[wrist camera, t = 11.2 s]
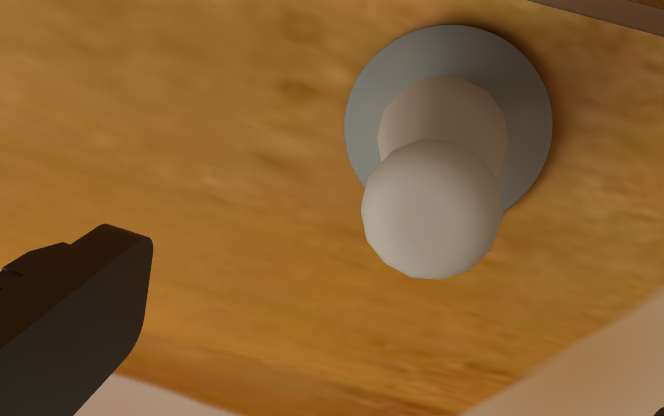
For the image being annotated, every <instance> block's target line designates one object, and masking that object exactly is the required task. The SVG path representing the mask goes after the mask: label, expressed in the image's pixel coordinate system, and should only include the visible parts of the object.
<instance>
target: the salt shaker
mask: <svg viewBox="0 0 664 416" xmlns="http://www.w3.org/2000/svg"><path fill="white" fill-rule="evenodd" d="M377 140H378V146H379V151H380V157H381V163H380V165H379V166H378V167H377V168H376V169H375V170H374V171H373V172H372V173H371V175H370V176H369V177H368V180H367V184H366V188H365V192H364V196H363V200H362V204H361V214H362V219H363V223H364V228H365V233H366V238H367V241H368V242H369V244H370V245H371V246H372V247H373V249H374V250H375V251H376V252H377V254H378V255H379V256H380V257H381V259H382V260H383V261H384V262H385V263H386V264H388V265H389V266H391V267H393V268H395V269H397V270H399V271H400V272H402V273H404V274H406V275H408V276H409V277H414V278H426V279H439V280H441V279H444V278H448V277H451V276H454V275H457V274H460V273H463V272H467V271H469V270H470V269H471V268H473V267H474V266H475V265H476V264H477V263H478V262H479V261H480V260H481V259H482V258H483V257H484V256H485V255H486V254H487V253H488V252H489V251H490V250H491V247H492V245H493V242H494V240H495V237H496V234H497V231H498V229H499V226H500V223H501V221H502V218H503V210H502V204H501V197H500V191H499V185H498V182H497V179H496V176H497V174H498V173H499V171H500V168H501V165H502V162H503V159H504V156H505V154H506V151H507V148H508V145H509V143H508V136H507V129H506V122H505V115H504V114H503V113H502V111H501V110H500V108H499V107H498V105H497V104H496V103H495V101H494V100H493V98H492V97H491V96H490V94H489V93H488V91H486V90H484V89H482V88H480V87H478V86H476V85H474V84H472V83H471V82H469V81H467V80H465V79H463V78H461V77H436V76H430V77H427V78H425V79H423V80H421V81H419V82H417V83H414V84H412V85H410V86H408V87H406V88H404V89H402V91H401V92H400V93H399V94H398V95H397V96H396V97H395V98H394V100H393V101H392V102H391V103H390V104H389V105H388V106H387V107H386V109H385V110H384V111H383V115H382V120H381V124H380V128H379V132H378V137H377Z"/></svg>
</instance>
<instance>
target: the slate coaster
mask: <svg viewBox="0 0 664 416" xmlns="http://www.w3.org/2000/svg"><path fill="white" fill-rule="evenodd" d="M430 76H436V77H461V78H463V79H465V80H467V81H469V82H471V83H472V84H474V85H476V86H478V87H480V88H482V89H484V90H486V91H488V93H489V94H490V96H491V97H492V98H493V100H494V101H495V103H496V104H497V105H498V107H499V108H500V110H501V111H502V113H503V114H504V115H505V122H506V129H507V136H508V143H509V145H508V148H507V151H506V154H505V156H504V159H503V162H502V165H501V168H500V171H499V173H498V174H497V176H496V179H497V182H498V185H499V191H500V197H501V204H502V210H503V211H504V210H506V209H507V208H509V207H510V206H512V205H513V204H514V203H515V202H516V201H518V200H519V199H520V198H521V197H522V196H523V195H524V194H525V193H526V192H527V191H528V189H529V188H530V187H531V186H532V185H533V183H534V182H535V180H536V179H537V177H538V176H539V174H540V172H541V170H542V168H543V166H544V164H545V162H546V159H547V156H548V153H549V150H550V145H551V140H552V130H553V118H552V108H551V104H550V100H549V96H548V93H547V90H546V88H545V85H544V83H543V81H542V79H541V77H540V75H539V74H538V72H537V70H536V69H535V67H534V66H533V65H532V64H531V62H530V61H529V60H528V59H527V57H526V56H525V55H524V54H522V53H521V52H520V51H519V50H518V49H517V48H516V47H515V46H513V45H512V44H511V43H509V42H508V41H506V40H505V39H503V38H501V37H499V36H497V35H495V34H494V33H491V32H489V31H486V30H483V29H480V28H476V27H471V26H466V25H455V24H446V25H435V26H430V27H425V28H421V29H418V30H416V31H413V32H410V33H408V34H406V35H404V36H402V37H400V38H398V39H396V40H395V41H393V42H392V43H390V44H389V45H387V46H386V47H384V48H383V49H382V50H381V51H380V52H379V53H377V54H376V55H375V56H374V57H373V58H372V59H371V61H370V62H369V63H368V64H367V65H366V66H365V68H364V69H363V71H362V72H361V74H360V75H359V77H358V78H357V80H356V82H355V84H354V86H353V89H352V91H351V94H350V97H349V100H348V103H347V108H346V113H345V124H344V132H345V143H346V148H347V153H348V156H349V159H350V162H351V165H352V167H353V169H354V171H355V173H356V175H357V177H358V178H359V180H360V181H361V183H362V184H363V186H364V187H365V188H366V184H367V180H368V177H369V176H370V175H371V173H372V172H373V171H374V170H375V169H376V168H377V167H378V166H379V165H380V163H381V157H380V151H379V146H378V140H377V137H378V132H379V128H380V124H381V120H382V115H383V111H384V110H385V109H386V107H387V106H388V105H389V104H390V103H391V102H392V101H393V100H394V98H395V97H396V96H397V95H398V94H399V93H400V92H401V91H402V89H404V88H406V87H408V86H410V85H412V84H414V83H417V82H419V81H421V80H423V79H425V78H427V77H430Z"/></svg>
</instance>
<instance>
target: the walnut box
mask: <svg viewBox="0 0 664 416" xmlns="http://www.w3.org/2000/svg"><path fill="white" fill-rule="evenodd" d="M528 1H532V2H536V3H539V4H543V5H547V6H551V7H554V8H558V9H562V10H565V11H569V12H573V13H577V14H580V15H584V16H588V17H592V18H595V19H599V20H603V21H606V22H610V23H614V24H618V25H621V26H625V27H629V28H632V29H636V30H640V31H644V32H647V33H651V34H655V35H659V36H662V37H664V10H663V9H659V8H655V7H652V6H648V5H644V4H640V3H636V2H633V1H629V0H528Z"/></svg>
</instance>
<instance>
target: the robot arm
mask: <svg viewBox="0 0 664 416" xmlns="http://www.w3.org/2000/svg"><path fill="white" fill-rule="evenodd" d="M152 256H153V243H152V240H151V239H150V238H149V237H146V236H143V235H140V234H137V233H134V232H131V231H128V230H125V229H121V228H118V227H115V226H112V225H109V224H102V225H100V226H98V227H97V228H95V229H93V230H92V231H90V232H89V233H87V234H86V235H84V236H83V237H81V238H80V239H78V240H77V241H75V242H74V243H72V244H71V245H70V244H67V243H64V242H61V243H58V244H54V245H51V246H47V247H44V248H40V249H36V250H33V251H29V252H27V253H26V254H24V255H22V256H21V257H19V258H17V259H16V260H14V261H13V262H11V263H9V264H8V265H6V266H4V267H3V268H2V271H1V272H0V416H73V415H74V414H75V413H76V412H77V411H78V410H79V409H80V408H81V407H82V406H83V404H84V403H85V402H86V401H87V400H88V399H89V398H90V397H91V396H92V395H93V394H94V392H95V391H96V390H97V389H98V388H99V387H100V386H101V385H102V384H103V383H104V381H105V380H106V379H107V378H108V377H109V376H110V375H111V374H112V373H113V372H114V371H115V369H116V368H117V367H118V366H119V365H120V364H121V363H122V362H123V361H124V360H125V359H126V357H127V356H128V355H129V353H130V352H131V351H132V349H133V347H134V345H135V343H136V342H137V339H138V337H139V335H140V332H141V329H142V326H143V321H144V315H145V308H146V301H147V293H148V286H149V278H150V271H151V264H152ZM654 416H664V407H663V408H661V409H660V410H658V412H656V414H655V415H654Z"/></svg>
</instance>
